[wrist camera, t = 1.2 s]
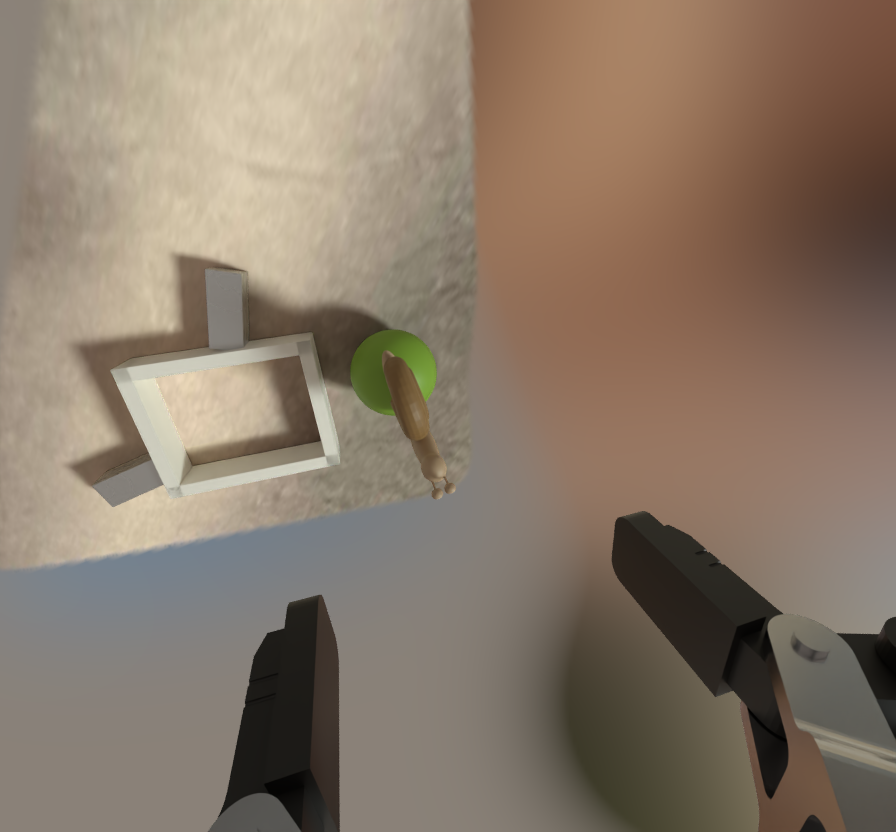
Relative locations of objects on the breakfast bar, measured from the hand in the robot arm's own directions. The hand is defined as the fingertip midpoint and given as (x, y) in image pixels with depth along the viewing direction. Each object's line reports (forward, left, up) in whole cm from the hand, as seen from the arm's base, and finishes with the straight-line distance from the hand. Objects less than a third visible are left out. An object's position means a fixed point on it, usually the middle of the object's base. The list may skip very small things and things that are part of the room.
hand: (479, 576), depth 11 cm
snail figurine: (0, 0, -20) cm, 20 cm away
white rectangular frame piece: (-1, -12, -20) cm, 23 cm away
